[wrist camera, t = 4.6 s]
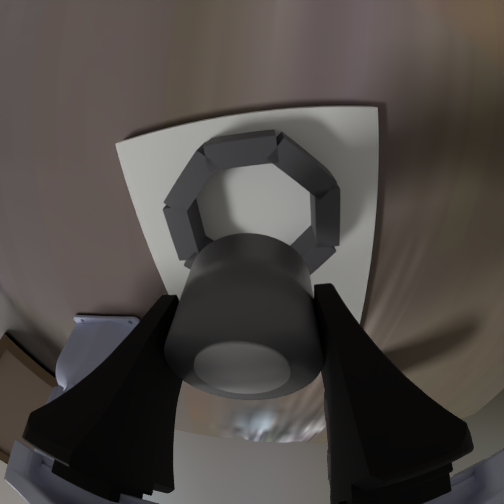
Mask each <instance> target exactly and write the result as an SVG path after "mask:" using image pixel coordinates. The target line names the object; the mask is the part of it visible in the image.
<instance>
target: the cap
mask: <svg viewBox="0 0 504 504" xmlns="http://www.w3.org/2000/svg"><path fill="white" fill-rule="evenodd" d="M164 356H165V359H166V362H167V363H168V365H169V367H170V368H171V369H172V371H173V372H174V373H175V374H176V375H177V376H178V377H180V378H181V379H182V380H184V381H185V382H187V383H188V384H190V385H192V386H194V387H195V388H198V389H200V390H202V391H205V392H207V393H210V394H214V395H217V396H221V397H226V398H232V399H241V400H263V399H271V398H277V397H281V396H285V395H288V394H291V393H294V392H296V391H298V390H300V389H302V388H304V387H306V386H307V385H308V384H310V383H311V382H312V381H313V380H314V379H315V378H316V377H317V376H318V374H319V373H320V371H321V368H322V364H323V358H322V350H321V343H320V336H319V329H318V322H317V316H316V309H315V303H314V297H313V291H312V285H311V279H310V274H309V270H308V267H307V265H306V263H305V261H304V260H303V258H302V257H301V256H300V255H299V253H298V252H297V251H296V250H294V249H293V248H292V247H291V246H289V245H288V244H286V243H284V242H283V241H281V240H278V239H276V238H273V237H270V236H267V235H262V234H255V233H239V234H232V235H228V236H225V237H222V238H219V239H217V240H215V241H213V242H212V243H210V244H208V245H207V246H206V247H205V248H203V249H202V250H201V252H200V253H199V254H198V255H197V257H196V258H195V260H194V262H193V265H192V267H191V270H190V273H189V275H188V278H187V281H186V284H185V286H184V289H183V292H182V295H181V298H180V301H179V304H178V306H177V309H176V312H175V315H174V318H173V321H172V324H171V327H170V330H169V333H168V336H167V339H166V342H165V346H164Z"/></svg>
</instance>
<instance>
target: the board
mask: <svg viewBox="0 0 504 504" xmlns="http://www.w3.org/2000/svg"><path fill="white" fill-rule="evenodd" d="M115 145H116V149H117V152H118V156H119V159H120V163H121V166H122V170H123V173H124V176H125V180H126V183H127V186H128V189H129V192H130V195H131V198H132V201H133V204H134V207H135V210H136V213H137V216H138V219H139V222H140V224H141V227H142V230H143V233H144V235H145V238H146V241H147V243H148V246H149V249H150V251H151V254H152V256H153V259H154V261H155V264H156V266H157V269H158V271H159V273H160V276H161V278H162V281H163V283H164V285H165V288H166V290H167V292H168V294H169V295H177V297H178V299H179V301H180V298H181V295H182V292H183V289H184V286H185V284H186V281H187V278H188V275H189V273H190V270H191V267H192V265H193V262H194V260H195V258H196V257H197V255H198V254H199V253H200V252H201V250H202V249H203V248H205V247H206V246H207V245H208V244H210V243H212V242H213V241H215V240H217V239H219V238H222V237H225V236H228V235H232V234H239V233H255V234H262V235H267V236H270V237H273V238H276V239H278V240H281V241H283V242H284V243H286V244H288V245H289V246H291V247H292V248H293V249H294V250H296V251H297V252H298V253H299V255H300V256H301V257H302V258H303V260H304V261H305V263H306V265H307V267H308V270H309V274H310V279H311V285H312V291H313V297H314V285H315V284H325V283H332V284H333V285H334V287H335V289H336V290H337V292H338V294H339V295H340V297H341V298H342V300H343V302H344V303H345V305H346V306H347V307H348V309H349V310H350V312H351V313H352V315H353V316H354V317H355V319H356V320H357V321H358V323H359V324H360V320H361V315H362V310H363V305H364V300H365V294H366V289H367V283H368V276H369V270H370V263H371V255H372V248H373V239H374V229H375V219H376V206H377V190H378V163H379V132H378V107H373V106H309V107H293V108H281V109H271V110H262V111H254V112H246V113H239V114H232V115H226V116H220V117H215V118H209V119H204V120H199V121H194V122H190V123H185V124H181V125H176V126H172V127H168V128H164V129H160V130H156V131H153V132H149V133H146V134H142V135H139V136H135V137H132V138H129V139H125V140H122V141H120V142H118V143H116V144H115Z"/></svg>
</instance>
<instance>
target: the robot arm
mask: <svg viewBox="0 0 504 504" xmlns="http://www.w3.org/2000/svg"><path fill="white" fill-rule="evenodd" d="M314 303H315V309H316V316H317V322H318V329H319V336H320V343H321V350H322V358H323V364H322V368H321V373H322V378H323V383H324V388H325V393H326V398H327V405H328V417H329V432H330V456H331V491H330V492H331V493H330V501H331V504H504V448H503V449H502V450H500V451H498V452H497V453H495V454H494V455H492V456H490V457H488V458H487V459H484V460H482V461H480V462H478V463H476V464H474V465H472V466H470V467H468V468H466V469H464V470H463V471H461V472H459V473H457V474H455V475H454V476H453V477H451V478H450V476H449V473H450V472H452V470H453V467H452V462H453V461H455V460H457V459H459V458H461V457H463V456H465V455H466V454H468V453H470V452H472V451H473V449H474V446H473V443H472V438H471V434H470V431H469V429H468V426H467V423H466V422H464V421H463V420H461V419H460V418H458V417H457V416H455V415H453V414H452V413H450V412H449V411H448V410H446V409H445V408H443V407H442V406H441V405H439V404H438V403H437V402H435V401H434V400H433V399H431V398H430V397H429V396H428V395H426V394H425V393H424V392H423V391H422V390H421V389H419V388H418V387H417V386H416V385H415V384H414V383H413V382H411V381H410V380H409V379H408V378H407V377H406V376H405V375H404V374H403V373H402V372H401V371H400V370H399V369H398V368H397V367H396V366H395V365H394V364H393V363H392V362H391V361H390V360H389V359H388V358H387V357H386V356H385V355H384V354H383V353H382V351H381V350H380V349H379V348H378V347H377V346H376V344H375V343H374V342H373V341H372V340H371V338H370V337H369V336H368V335H367V333H366V332H365V331H364V330H363V328H362V327H361V326H360V324H359V323H358V321H357V320H356V319H355V317H354V316H353V315H352V313H351V312H350V310H349V309H348V307H347V306H346V305H345V303H344V302H343V300H342V298H341V297H340V295H339V294H338V292H337V290H336V289H335V287H334V285H333V284H332V283H325V284H315V285H314ZM178 304H179V299H178V297H177V295H162V296H161V297H160V298H159V300H158V301H157V302H156V303H155V304H154V305H153V306H152V308H151V309H150V310H149V311H148V312H147V313H146V315H145V316H144V317H143V318H142V319H141V321H140V320H139V319H138V318H137V317H121V316H88V315H75V316H74V320H75V322H76V323H77V324H76V326H75V327H74V329H73V331H72V333H71V335H70V336H69V338H68V340H67V342H66V344H65V346H64V348H63V350H62V352H61V354H60V356H59V358H58V360H57V363H56V379H57V382H58V385H59V386H58V387H57V386H56V387H53V389H52V391H51V393H50V395H49V398H48V400H47V403H46V405H44V406H42V407H40V408H38V409H36V410H34V411H32V412H31V413H30V415H29V418H28V421H27V423H26V426H25V429H24V432H23V435H22V439H23V440H24V441H25V442H27V443H28V444H30V445H31V446H33V447H34V448H35V451H34V450H33V449H31V448H29V447H28V446H26V445H25V444H23V443H22V442H20V441H18V440H17V439H16V440H15V442H14V445H13V448H12V451H11V455H10V458H9V462H8V466H7V469H6V473H5V477H4V479H5V481H6V482H7V483H9V484H10V485H11V486H12V487H13V488H14V489H15V490H16V491H17V492H18V493H19V494H20V495H22V496H23V497H24V499H25V500H26V501H27V502H28V503H29V504H158V503H154V502H150V501H147V500H143V499H142V497H143V494H147V495H152V493H153V490H155V491H160V492H164V493H170V492H172V491H173V490H174V489H175V488H174V476H173V475H174V474H173V441H174V426H175V415H176V407H177V402H178V397H179V393H180V388H181V384H182V379H181V378H180V377H178V376H177V375H176V374H175V373H174V372H173V371H172V369H171V368H170V367H169V365H168V363H167V362H166V359H165V356H164V346H165V342H166V339H167V336H168V333H169V330H170V327H171V324H172V321H173V318H174V315H175V312H176V309H177V306H178Z"/></svg>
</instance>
